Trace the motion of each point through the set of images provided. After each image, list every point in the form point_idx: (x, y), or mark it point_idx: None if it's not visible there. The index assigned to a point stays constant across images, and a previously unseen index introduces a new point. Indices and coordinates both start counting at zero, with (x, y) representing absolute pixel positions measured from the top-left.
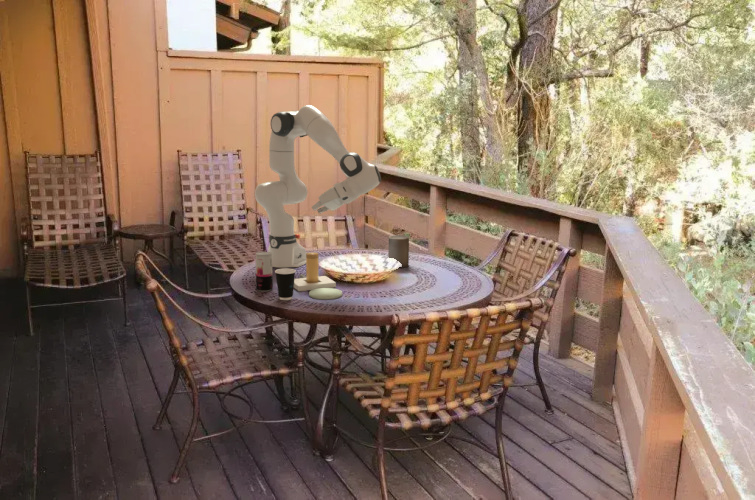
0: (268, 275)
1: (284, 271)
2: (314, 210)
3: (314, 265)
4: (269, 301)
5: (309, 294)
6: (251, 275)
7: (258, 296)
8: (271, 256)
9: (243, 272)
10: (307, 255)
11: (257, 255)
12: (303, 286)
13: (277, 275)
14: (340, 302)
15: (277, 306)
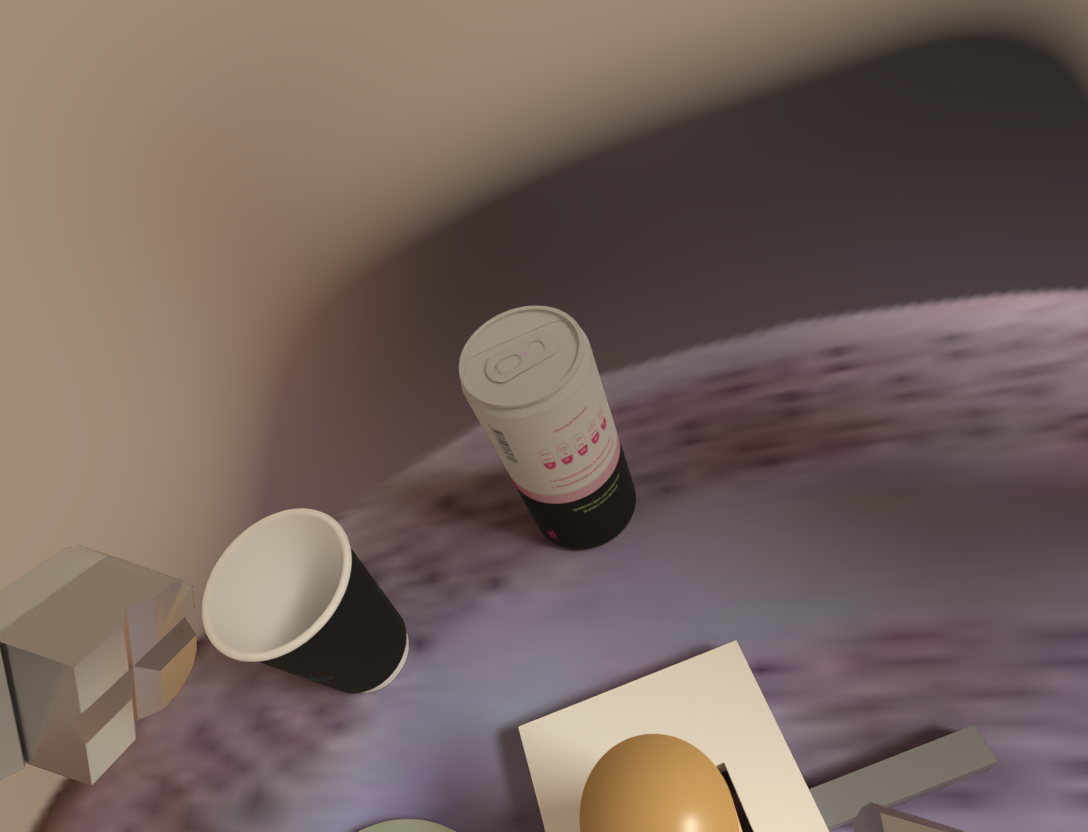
0: (514, 482)
1: (350, 575)
2: (186, 673)
3: None
4: None
5: (389, 822)
6: (961, 373)
7: (446, 495)
8: (499, 421)
9: (1039, 314)
10: (610, 753)
11: (488, 329)
12: (529, 768)
13: (267, 540)
14: None
15: None
